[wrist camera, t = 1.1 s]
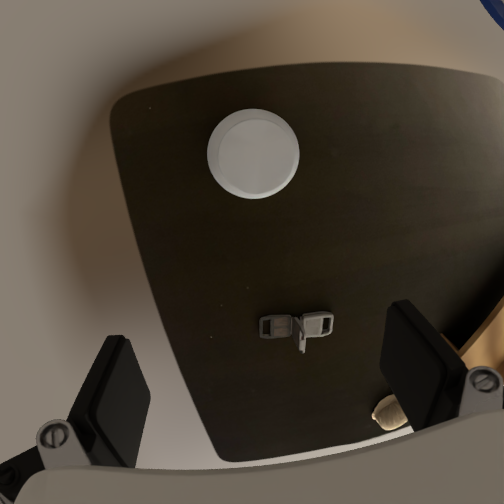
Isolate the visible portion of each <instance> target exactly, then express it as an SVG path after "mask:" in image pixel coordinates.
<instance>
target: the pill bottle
mask: <svg viewBox="0 0 504 504" xmlns="http://www.w3.org/2000/svg"><path fill="white" fill-rule="evenodd" d="M207 159H208V164H209V168H210V170H211V173H212V174H213V176H214V178H215V179H216V181H217V182H218V183H219V184H220V185H221V186H222V187H223V188H224V189H226V190H227V191H229V192H230V193H232V194H234V195H237V196H239V197H243V198H251V199H256V198H264V197H267V196H270V195H273V194H275V193H277V192H278V191H280V190H281V189H282V188H284V187H285V186H286V185H287V184H288V183H289V181H290V180H291V179H292V177H293V176H294V174H295V172H296V169H297V166H298V162H299V146H298V141H297V138H296V136H295V134H294V132H293V130H292V129H291V127H290V126H289V125H288V124H287V123H286V122H285V121H284V120H283V119H282V118H280V117H279V116H277V115H276V114H274V113H271V112H269V111H266V110H261V109H245V110H241V111H237V112H235V113H233V114H231V115H229V116H227V117H226V118H225V119H223V120H222V121H221V122H220V123H219V124H218V125H217V127H216V128H215V129H214V131H213V133H212V135H211V137H210V140H209V143H208V149H207Z"/></svg>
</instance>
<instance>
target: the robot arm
mask: <svg viewBox="0 0 504 504" xmlns="http://www.w3.org/2000/svg"><path fill="white" fill-rule="evenodd" d="M501 1H502V2H503V3H504V0H501ZM465 365H466V364H465V363H464V361H463V360H462V359H461V358H460V357H459V356H458V354H457V353H456V352H455V351H454V350H453V349H452V347H451V346H450V345H449V344H448V343H447V342H446V341H445V339H444V338H443V337H442V336H441V335H440V334H439V333H438V332H437V330H436V329H435V328H434V327H433V326H432V325H431V324H430V323H429V322H428V320H427V319H426V318H425V317H424V316H423V315H422V314H421V313H420V312H419V311H418V310H417V309H416V307H415V306H414V305H413V304H412V303H411V302H410V301H409V300H407V299H405V300H400V301H395V302H393V303H392V304H391V306H390V307H388V309H387V317H386V324H385V332H384V339H383V345H382V352H381V358H380V369H381V372H382V374H383V375H384V377H385V379H386V381H387V383H388V384H389V386H390V388H391V390H392V392H393V393H394V395H395V397H396V399H397V401H398V403H399V404H400V406H401V408H402V410H403V412H404V414H405V415H406V417H407V419H408V421H409V423H410V425H411V427H412V429H413V431H414V433H411V434H407V435H404V436H401V437H398V438H394V439H391V440H388V441H384V442H381V443H377V444H374V445H370V446H366V447H362V448H358V449H354V450H350V451H346V452H342V453H337V454H332V455H327V456H322V457H317V458H312V459H306V460H300V461H294V462H287V463H280V464H272V465H264V466H253V467H242V468H229V469H209V470H162V469H138V468H135V465H136V460H137V456H138V451H139V447H140V442H141V438H142V433H143V429H144V425H145V420H146V416H147V412H148V408H149V404H150V391H149V389H148V386H147V384H146V381H145V379H144V376H143V374H142V371H141V369H140V366H139V364H138V361H137V359H136V356H135V353H134V351H133V348H132V345H131V342H130V340H129V339H125V337H124V336H123V335H109V336H107V338H106V340H105V341H104V343H103V345H102V347H101V349H100V351H99V353H98V355H97V357H96V359H95V361H94V363H93V365H92V367H91V369H90V371H89V373H88V375H87V377H86V379H85V381H84V383H83V385H82V387H81V389H80V392H79V393H78V396H77V398H76V400H75V402H74V404H73V406H72V408H71V411H70V413H69V416H68V418H67V420H66V421H65V420H61V419H57V420H52V421H49V422H47V423H45V424H44V425H43V426H42V427H41V428H40V429H39V431H38V432H37V435H36V443H37V445H36V446H35V447H33V448H31V449H29V450H27V451H25V452H23V453H21V454H20V455H17V456H15V457H13V458H11V459H9V460H8V461H5V462H3V463H2V464H0V504H504V386H503V378H502V377H501V375H500V374H499V373H498V372H497V371H496V370H495V369H493V368H491V367H487V366H476V367H473V368H471V369H470V370H468V368H467V367H466V366H465Z"/></svg>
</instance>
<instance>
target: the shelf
mask: <svg viewBox="0 0 504 504" xmlns="http://www.w3.org/2000/svg"><path fill="white" fill-rule="evenodd" d="M440 335H441V336H442V337H443V338H444V339H445V341H446V342H447V343H448V344H449V345H450V346H451V347H452V349H453V350H454V351H455V352H456V353H457V354H458V356H459V357H460V358H461V359H462V360H463V361H464V363H465V364H466V365H465V366H466V367H467V368H468V370H470V369H471V368H473V367H476V366H487V367H491V368H493V369H495V370H496V371H497V372H498V373H499V374H500V375H501V377H502V378H503V385H504V296H503V297H502V299H501V300H500V302H499V303H498V304H497V305H496V307H495V308H494V309H493V311H492V312H491V313H490V315H489V316H488V317H487V318H486V320H485V321H484V322H483V323H482V325H481V326H480V327H479V328H478V329H477V331H476V332H475V333H474V334H473V335H472V336H471V338H470V339H469V340H468V341H467V342H466V343H465V344H464V346H463V347H462V348H461V349H460V350H459V349H458V348H457V347H456V346H455V345H454V344H453V343H452V342H451V341H449V340H448V339H447V338H446V337H445V336H444V335H443V334H442V333H441V334H440Z"/></svg>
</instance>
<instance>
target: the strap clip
mask: <svg viewBox="0 0 504 504" xmlns="http://www.w3.org/2000/svg"><path fill="white" fill-rule="evenodd" d="M328 317H329V325H328V329H324V330H322V327H323V318H328ZM270 319H271V330H270V334H263V321H264V320H270ZM332 325H333V314H332V313H330V312H325V311H320V312H313V313H305V314H303V315H302V317H301V316H300V320H299V319H298V318H297V317H294V318H293V317H291V315H268V316H264V317H262V318H261V319H260V337H261V338H268V339H272V338H280V337H288V336H290V335H292V337H293V340H294V342H295V344H296V346H297V348H298V349H299V351H300V352H301V353H304V352H305V343H306V337H322V336H325V335H328V334H330V333H331V332H332Z"/></svg>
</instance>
